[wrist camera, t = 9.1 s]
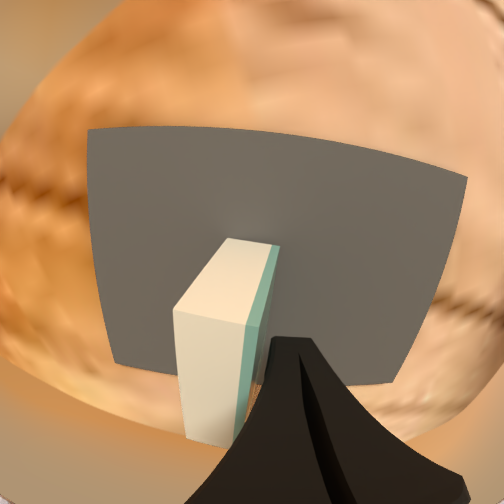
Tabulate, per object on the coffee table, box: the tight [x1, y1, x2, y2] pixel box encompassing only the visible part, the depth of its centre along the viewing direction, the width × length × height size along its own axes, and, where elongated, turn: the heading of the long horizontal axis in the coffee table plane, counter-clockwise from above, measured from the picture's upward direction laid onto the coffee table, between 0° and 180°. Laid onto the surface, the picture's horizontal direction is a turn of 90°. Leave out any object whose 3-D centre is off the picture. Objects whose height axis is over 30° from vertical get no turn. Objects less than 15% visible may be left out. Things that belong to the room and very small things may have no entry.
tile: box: [173, 238, 280, 449], centre depth 10 cm, size 2×6×5 cm, turn 174°
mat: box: [87, 126, 468, 386], centre depth 12 cm, size 16×12×1 cm
